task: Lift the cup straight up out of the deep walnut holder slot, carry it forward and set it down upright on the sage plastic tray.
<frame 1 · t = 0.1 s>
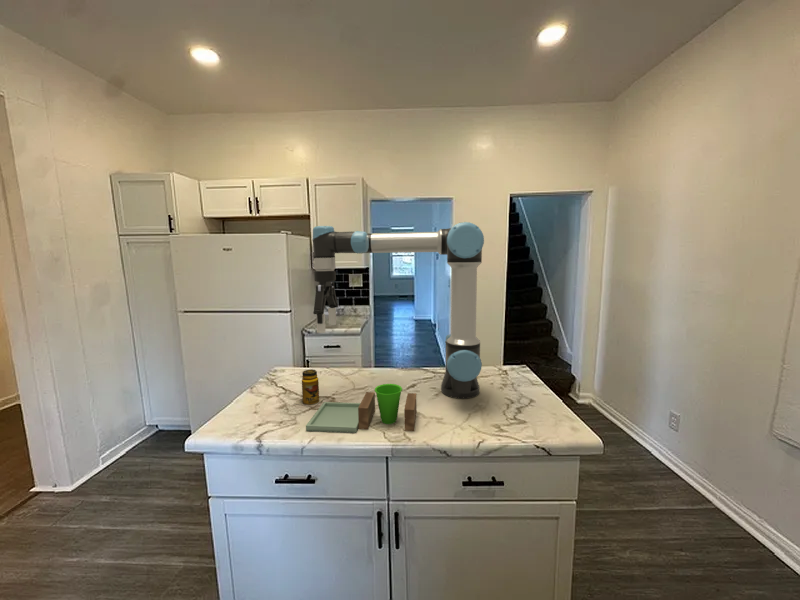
hand: (327, 328, 129), 28 cm above the countertop, fingers open, 13 cm apart
holder: (389, 420, 117), on the countertop
condiment: (309, 402, 133), on the countertop
cup: (389, 421, 117), on the countertop
tray: (338, 418, 119), on the countertop
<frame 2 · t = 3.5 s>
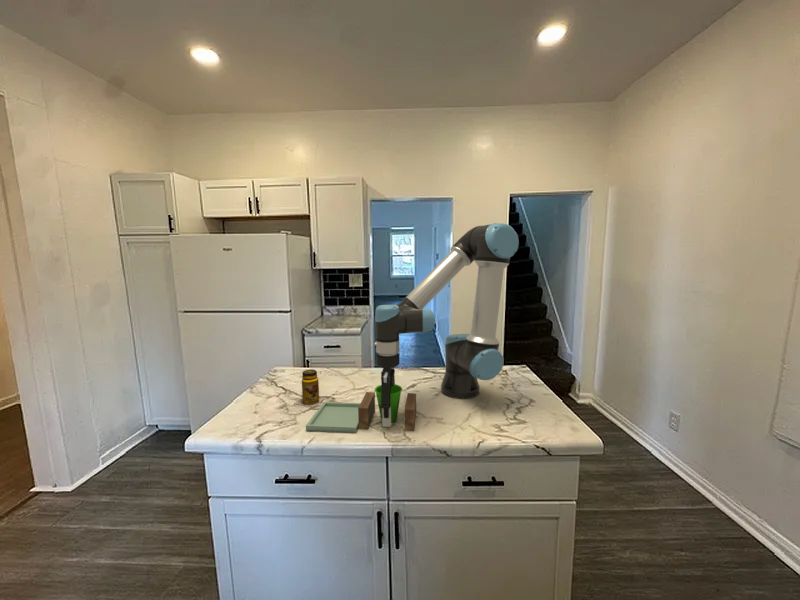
hand: (388, 419, 117), 1 cm above the countertop, fingers closed on cup, 9 cm apart
cup: (388, 421, 117), on the countertop, touching gripper
everything else where it was.
when the fingers open (2 cm above the countertop, at t = 9.5 s): cup drops 1 cm, resting on tray.
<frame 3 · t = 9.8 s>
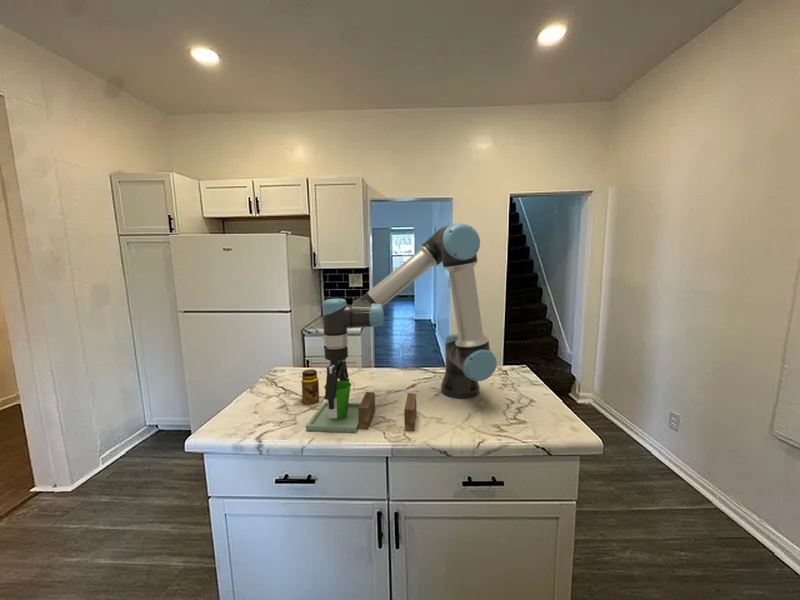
hand: (338, 408, 118), 4 cm above the countertop, fingers open, 12 cm apart
cup: (339, 417, 119), resting on tray
everything else where it was.
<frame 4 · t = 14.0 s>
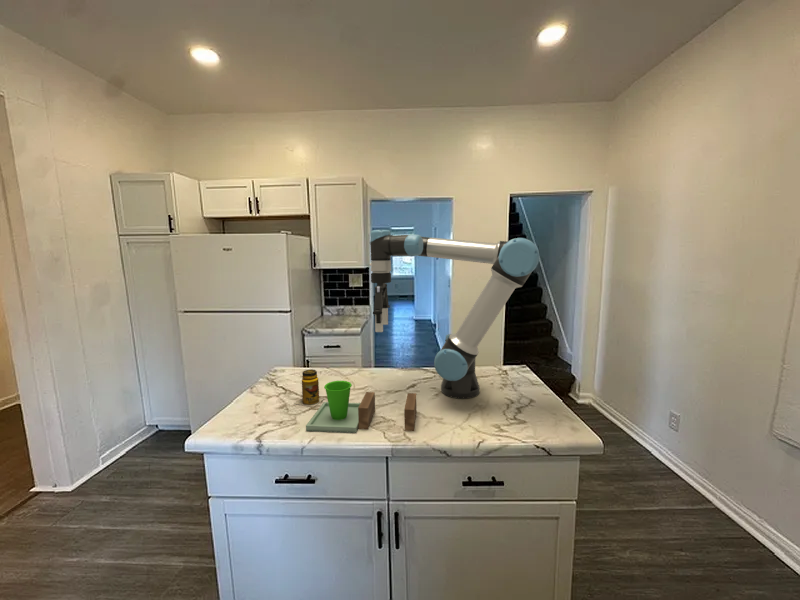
hand: (382, 328, 135), 27 cm above the countertop, fingers open, 13 cm apart
nothing on the countertop moved.
at the end: cup inside the target area on the tray (0.3 cm from its centre), point 0.4 cm above the tray's base; cup tilted 0°; the gripper is holding nothing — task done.
